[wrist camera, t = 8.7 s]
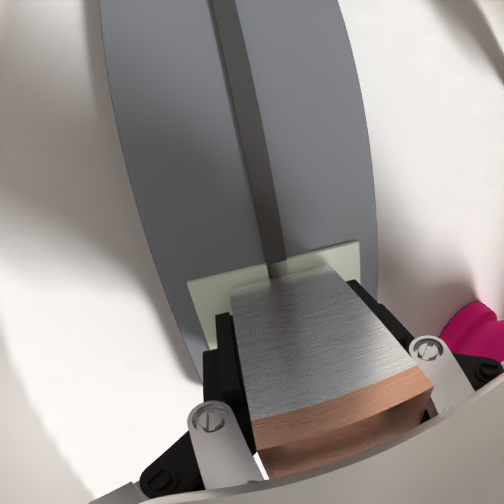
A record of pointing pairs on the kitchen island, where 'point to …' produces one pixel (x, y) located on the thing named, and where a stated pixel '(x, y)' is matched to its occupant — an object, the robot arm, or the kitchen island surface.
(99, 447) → the kitchen island surface
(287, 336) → the fader knob
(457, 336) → the pepper mill
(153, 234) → the fader panel
